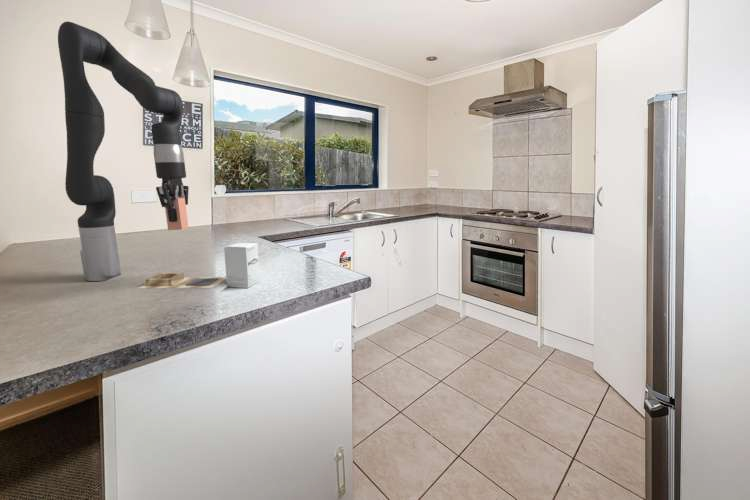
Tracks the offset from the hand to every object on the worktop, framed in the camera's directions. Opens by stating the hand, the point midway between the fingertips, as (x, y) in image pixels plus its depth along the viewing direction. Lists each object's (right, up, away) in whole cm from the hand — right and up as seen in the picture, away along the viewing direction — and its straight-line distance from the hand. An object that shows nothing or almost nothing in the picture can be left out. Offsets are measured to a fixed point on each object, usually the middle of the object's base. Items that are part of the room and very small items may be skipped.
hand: (177, 220), depth 107 cm
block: (0, -2, 0) cm, 2 cm away
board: (0, -20, +4) cm, 20 cm away
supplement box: (+18, -20, +5) cm, 27 cm away
